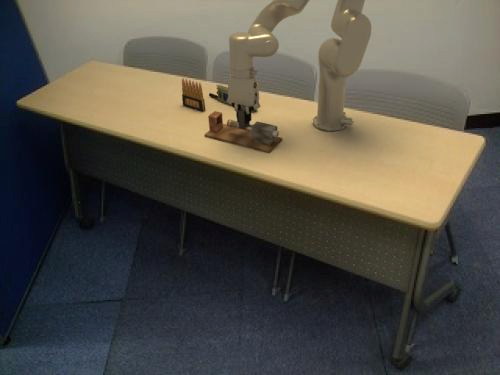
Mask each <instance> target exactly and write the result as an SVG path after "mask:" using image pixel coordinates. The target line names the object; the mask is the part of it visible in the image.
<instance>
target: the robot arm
mask: <svg viewBox="0 0 500 375" xmlns="http://www.w3.org/2000/svg"><path fill="white" fill-rule="evenodd" d="M365 1H366V0H337V2H336V5H335V9H334V12H333V15H332V18H331V21H330V22H331V23H330V28H331V31H332V32H333V33H334V34H335V35H336V36H338V37H340V38H341V39H339V38H335V37H332V38H327V39H326V40H325V41H323V42H322V44H321V45H320V47H319V50H318V67H319V68H318V69H319V75H318V76H319V78H318V80H319V82H318V94H317V95H318V96H317V112H316V113H317V114H316V116H314V117H313V119H312V125H313V127H314V128H316V129H318V130H321V131H325V132H337V131H341V130H343V129H345V128H346V126H350V127H353V125H354V121H355V120H353V117H349V116H347V115H346V114H347V112H345V98H346V87H347V78H350V77H351V76H353V75H354V74H355V73H357V71H359V68H360V66H361V64H362V62H363V59H364V56H365V54H366V50H367V47H368V44H369V42H370V38H371V35H372V23H371V20H370V19H369V17H368V16H367V15H366V14H364V13H363V9H364V5H365ZM309 2H310V0H272V1H271V2H270V3H268V4H267V5H266V6H265V7H264V8H263V9H262V10H261V11H260V12H259V13H258V15H257V16H256V18H255V19H254V21H253V22H252V24H251V25H250V27H249V29H248V31H247V32H245V31H239V32H233V33H232V34H230V35H229V38H228V46H229V61H230V62H229V64H230V66H229V67H230V74H229V77H228V81H227V82H228V84H227V87H228V99H227V102H228V103H230V104H231V105H232V106H231V105H230V106H231V107H232V108H234V111H235V112H236V113H235V114H236V119H237V120H236V121H237V122H239V120H238V110H239V109H240V108H241V105H245V107H246V113H245V124H248V123H249V122H250V123H251V122H252V113H251V112H252V111H253V110H255V109H257V110H258V109H260V108H261V104H260V90H259V83H258V80H257V72H258V71H257V70H255V69H254V58H255V57H256V58H268V57H272V56H274V55H275V54H277V52H278V50H279V47H280V46H279V45H280V44H279V43H280V42H279V41H278V38H277V37H276V35H274V34H273V33H272V32H273V31H274V29H275V28H276V27H277V25H279V23H281V22H282V21H283V20H284V19H287V18H289V17H293V16H296V15H299V14H301V12H303V10H304V9H305V8H306V6H307V5H308V4H309Z"/></svg>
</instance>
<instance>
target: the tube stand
mask: <svg viewBox="0 0 500 375" xmlns="http://www.w3.org/2000/svg"><path fill="white" fill-rule="evenodd" d="M251 125H252V126H251V130H252V132H250V131H246V130H242V129H238V128H233V127H229V126H227V123H224V121H223V112H221V111H217V110H214V111H213V112H212V113H210V114H209V115H208V126H209V130H208V131H207V132H205V133H204V137H205V138H208V139H212V140H216V141H219V142H223V143H228V144H231V145H234V146H239V147H244V148H247V149H252V150H254V151H259V152H262V153H267V154H271V152H272V151H274V150H275V148H277V146H278V145H279V144H281V142H282V141H283V137H280V136H278V137H277V138H275V137H273V131H274V130H276V131H278V125H274V124H271V123H267V122H261V121H255V122H254V123H253V124H251Z"/></svg>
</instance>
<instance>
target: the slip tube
mask: <svg viewBox="0 0 500 375" xmlns="http://www.w3.org/2000/svg"><path fill="white" fill-rule="evenodd" d="M245 113H246V107H245V106H242V107H241V108H240V109H239V110H238V120H239V122H237V120H233V119H228V120H227V121H226V124H227V126H229V127H233V128H238V129H242V130H246V131H250V132H252V130H251V126H252V125H253V124H251V121H250V122H249V123H248V124H245ZM279 135H280V133H279V130H277V131H276V130H274V131H273V137H275V138H277V137H279Z"/></svg>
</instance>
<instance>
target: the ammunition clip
mask: <svg viewBox="0 0 500 375" xmlns="http://www.w3.org/2000/svg"><path fill="white" fill-rule="evenodd" d="M181 92H182V95H181V97H182V98H181V99H182V107H186V108H188V109H191V110H194V111H197V112H201V113H203V112H205V111H206V103H205V98H204V93H203V88H202V83H201V82H199V83H198V82H197V81H194V80H192V82H191V80H190V79H187V78H185V79H184V78H183V77H182V78H181Z"/></svg>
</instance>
